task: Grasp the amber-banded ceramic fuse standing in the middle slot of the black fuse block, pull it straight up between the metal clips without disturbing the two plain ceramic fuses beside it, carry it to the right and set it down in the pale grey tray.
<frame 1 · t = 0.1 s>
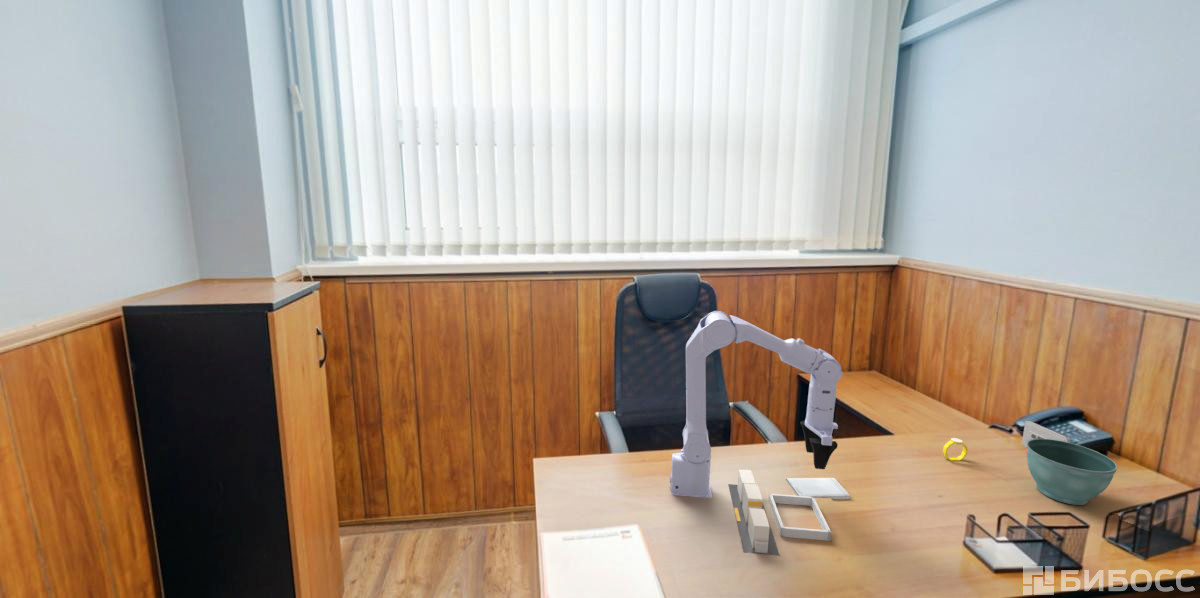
hand: (815, 459, 121), 10 cm above the table, tool pointing down, fingers open, 7 cm apart
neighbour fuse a: (757, 538, 108), point 1 cm above the table, touching fuse block
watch: (953, 460, 143), on the table
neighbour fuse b: (745, 495, 123), point 1 cm above the table, touching fuse block
cassette: (1042, 455, 147), on the table
tray: (797, 521, 114), on the table
teal green bowl: (1061, 495, 126), on the table
fuse block: (750, 518, 116), on the table
hard drive: (816, 492, 127), on the table
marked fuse: (751, 515, 115), point 1 cm above the table, touching fuse block
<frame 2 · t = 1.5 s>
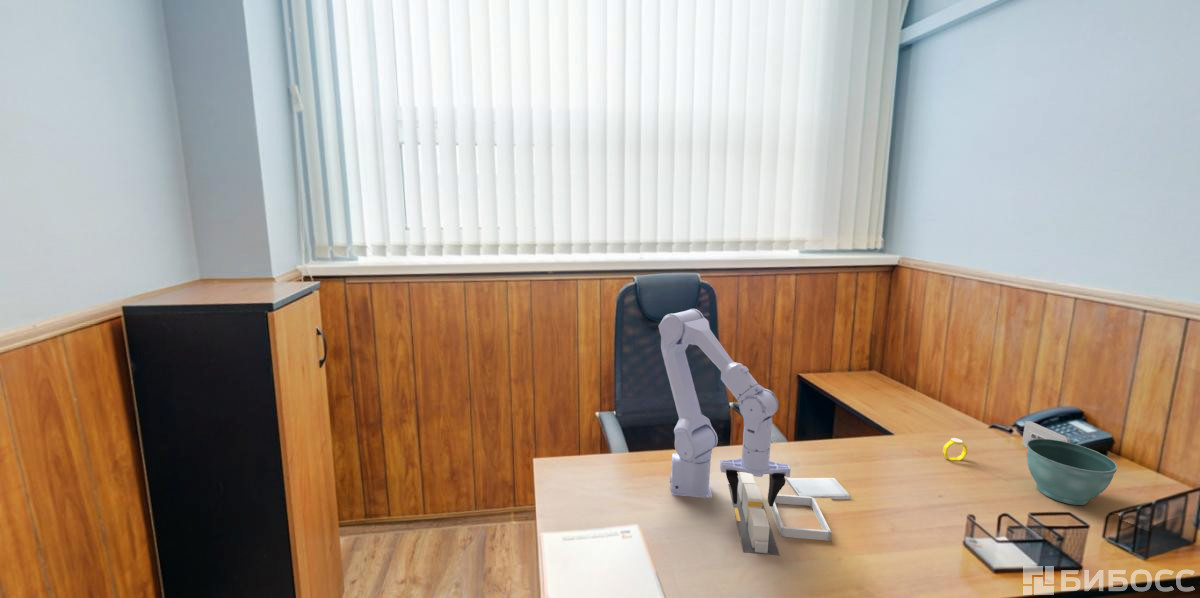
hand: (752, 502, 115), 4 cm above the table, tool pointing down, fingers open, 7 cm apart
nothing on the table moved.
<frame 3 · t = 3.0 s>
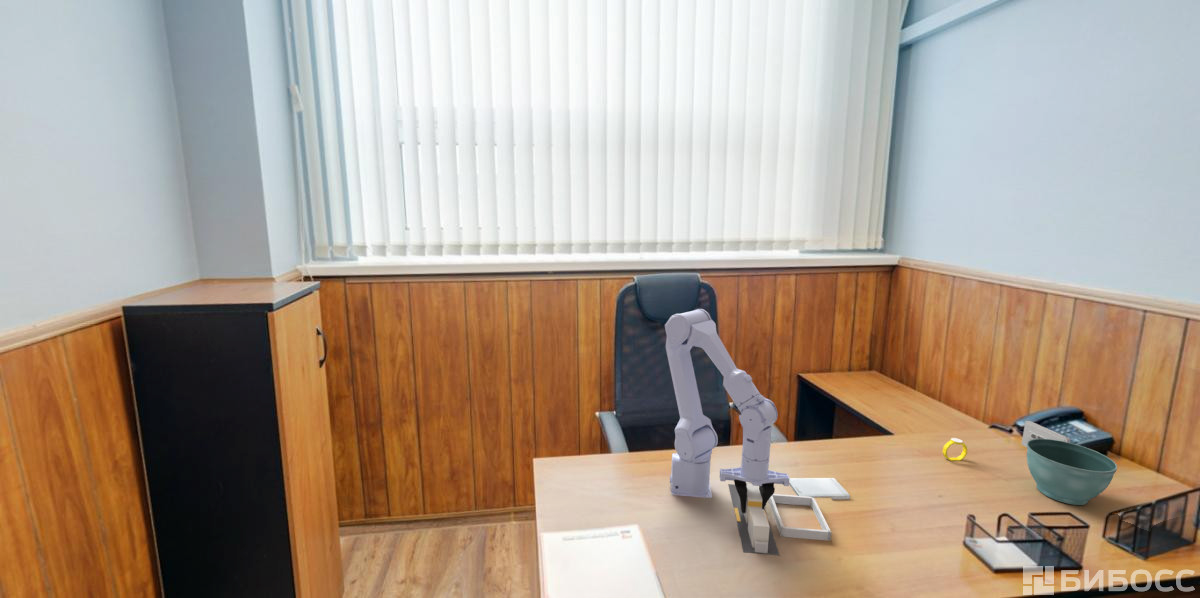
hand: (751, 511, 115), 2 cm above the table, tool pointing down, fingers closed on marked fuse, 3 cm apart
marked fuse: (751, 515, 115), point 1 cm above the table, touching fuse block, gripper
everything else where it was.
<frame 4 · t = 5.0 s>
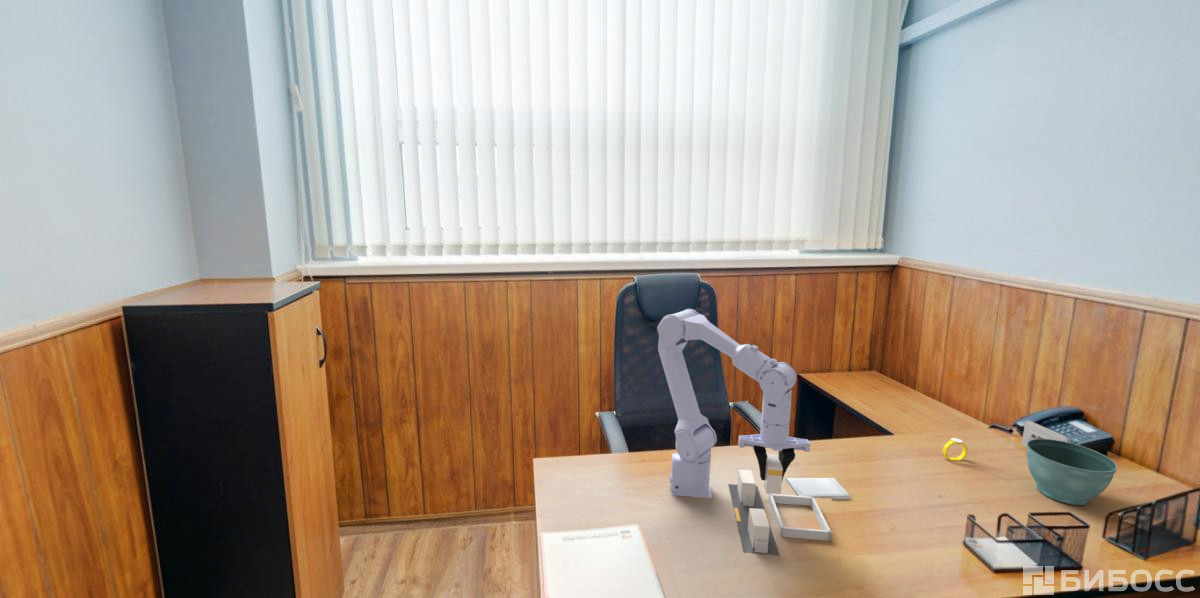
hand: (770, 478, 113), 10 cm above the table, tool pointing down, fingers closed on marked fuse, 3 cm apart
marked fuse: (770, 485, 113), point 9 cm above the table, touching gripper
everything else where it was.
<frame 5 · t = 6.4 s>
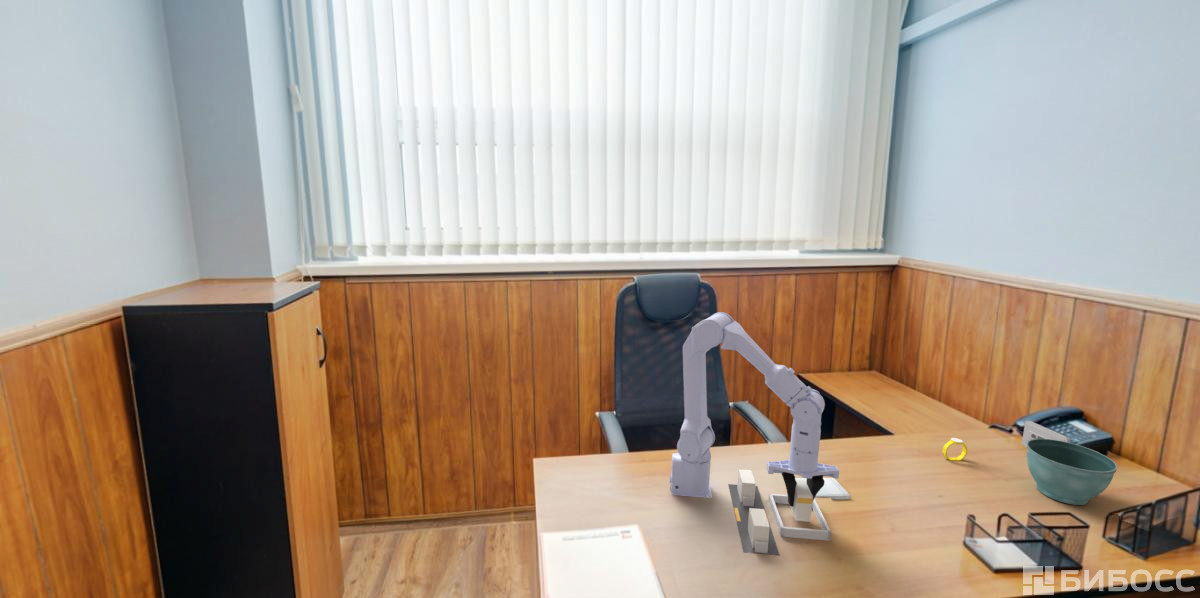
hand: (799, 504, 114), 4 cm above the table, tool pointing down, fingers closed on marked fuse, 3 cm apart
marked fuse: (799, 512, 113), point 3 cm above the table, touching gripper
everything else where it was.
when the fingers open (3 cm above the table, at t = 7.3 s): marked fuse drops 1 cm, resting on tray.
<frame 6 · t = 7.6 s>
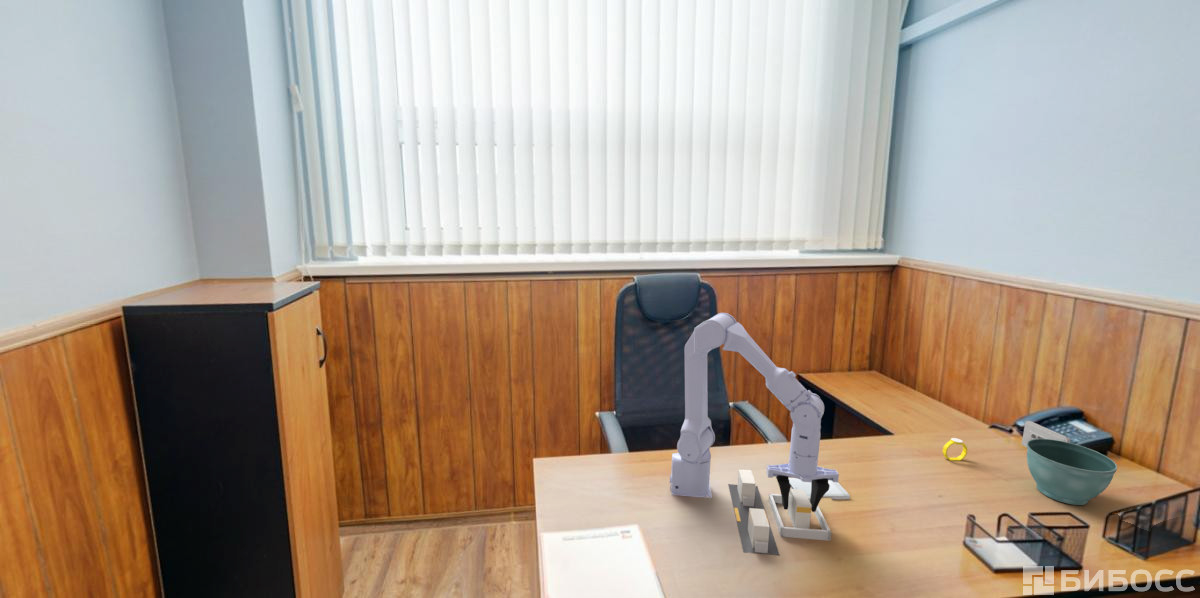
hand: (798, 508, 114), 3 cm above the table, tool pointing down, fingers open, 5 cm apart
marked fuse: (798, 521, 114), resting on tray
everything else where it was.
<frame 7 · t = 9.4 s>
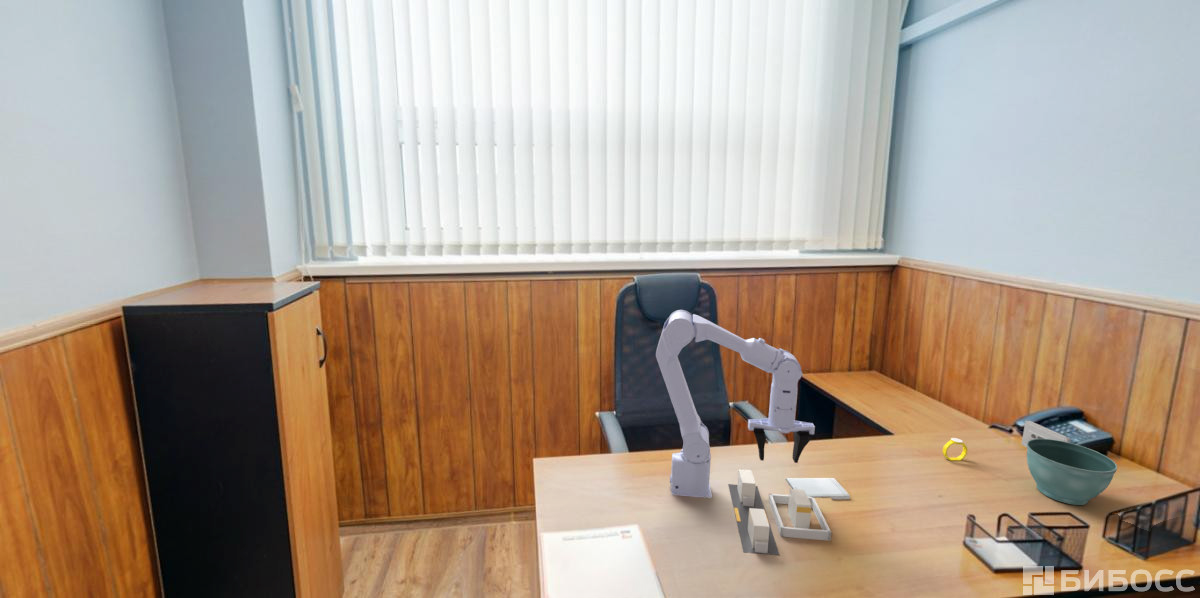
hand: (778, 459, 122), 10 cm above the table, tool pointing down, fingers open, 7 cm apart
nothing on the table moved.
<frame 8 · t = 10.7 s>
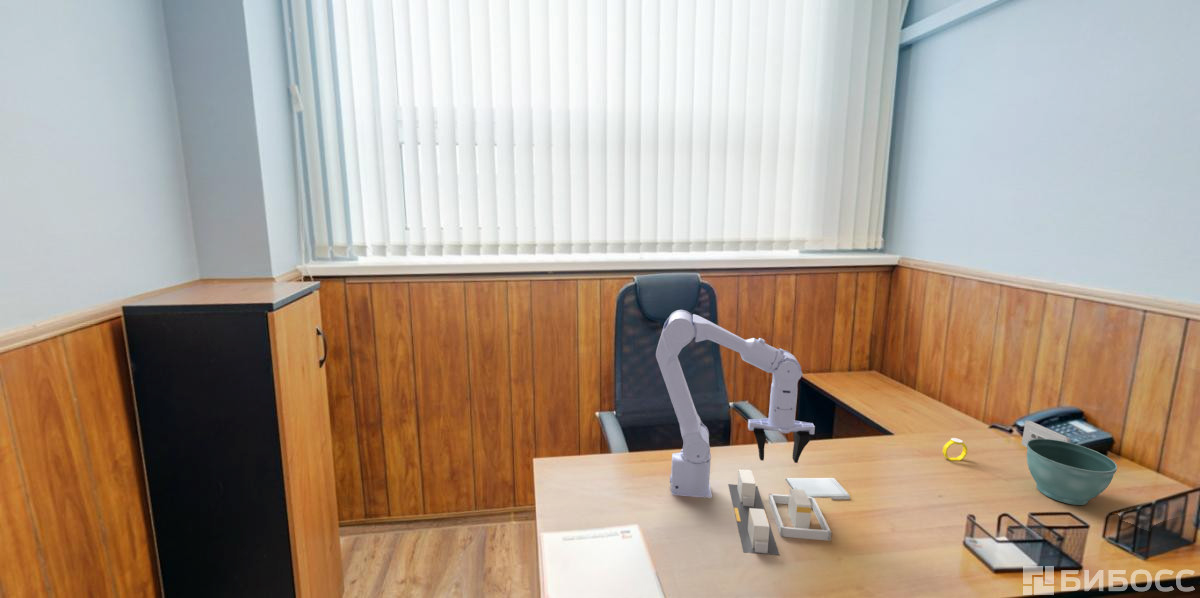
hand: (778, 459, 122), 10 cm above the table, tool pointing down, fingers open, 7 cm apart
nothing on the table moved.
at the end: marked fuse inside the target area on the tray (0.6 cm from its centre), point 0.5 cm above the tray's base; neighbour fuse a moved 0.1 cm from its start; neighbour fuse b moved 0.1 cm from its start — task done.
